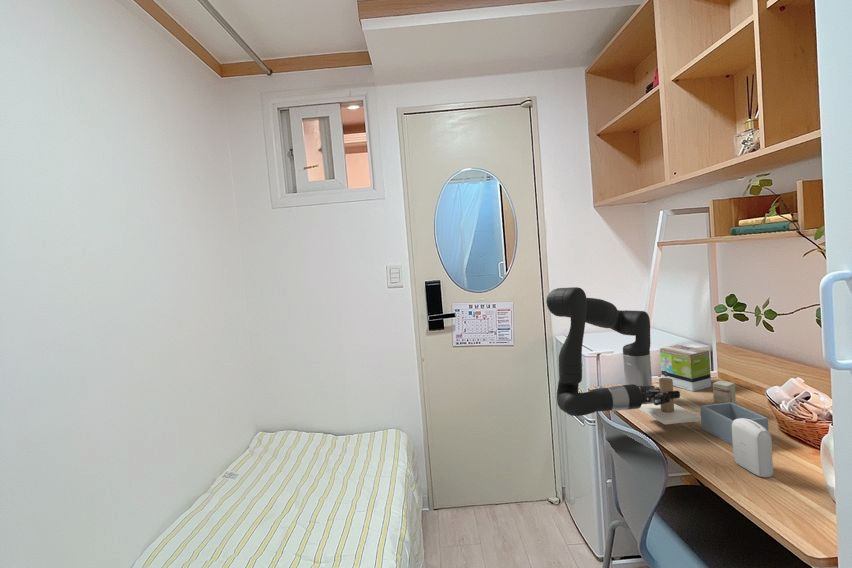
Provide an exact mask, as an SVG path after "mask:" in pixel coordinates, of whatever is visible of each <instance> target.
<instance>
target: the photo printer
mask: <svg viewBox="0 0 852 568" xmlns="http://www.w3.org/2000/svg"><path fill="white" fill-rule="evenodd" d="M732 441H733V446H732V452H733V455H732V456H733V461H734V463H736V464H737V465H738V466H740V467H742V468H744V469H745V470H747V471H748V472H750V473H752V474H754V475H755V476H758V477H760V478H770V477H772V476H773V475H774V463H773V461H774V460H773V448H772V444H773V443H772V435H771V433H770V432H768V431H767V430H766V429H765V428H764V427H763V426H761V425H760V424H758V423H756V422H754V421H752V420H749V419H745V418H739V419H735V420H734V421H733V423H732Z"/></svg>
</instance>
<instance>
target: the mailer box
mask: <svg viewBox="0 0 852 568" xmlns="http://www.w3.org/2000/svg"><path fill="white" fill-rule="evenodd" d="M699 409H700V422H701V423H700V424H701V429H703V430H704V431H705V432H708V433H710V434H711V435H713V436H715V437H717V438H718V439H720V440H722V441H723V442H725V443H728V444H729V445H731V446H732V447H733V441H732V423H733V421H734V420H735V419H739V418H745V419H749V420H752V421H754V422H756V423H758V424H760V425H761V426H763V427H764V428H765V429H766V430H767V431H768V432H769V418H768V417H766V416H764V415H761V414H759V413H757V412H755V411H753V410H751V409H748V408H745V407H743V406H741V405H740V404H739V405H738V404H734V403H732V402H729V403H721V404H714V403H713V404H704V405H700V407H699ZM769 433H770V432H769Z"/></svg>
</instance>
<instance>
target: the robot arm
mask: <svg viewBox="0 0 852 568" xmlns="http://www.w3.org/2000/svg"><path fill="white" fill-rule="evenodd" d="M545 301H546V306H547V309H548V310H549V312H550V313H551V314H552V315H554V316H555V317H559V318H560V317H561V318H562V317H565V318H570V325H569V332H568V334H567V336H566V339H565V340H564V342H563V345H562V346H561V348H560V350H559V354H558V377H559V378H558V383H557V390H556V402H557V406H558V407H559V409H560V410H561V411H563V412H564V413H566V414H567V415H569V416H571V417H580V416H581V417H582V416H587V415H591V414H594V413H597V412H607V411H608V412H609V411H610V412H611V411H627V410H637V409H639V408H640V407H641V405H642V404H644V403H645V404H652V403H654V405H660V404H664V403H668V402H670V399H680V398H681V393H680V392H681V391H680V390H673V391H668V392H660V386H659V387H658V386H655V385H653V381H652V378H653V375H652V362H651V318H650V316H649V314H648V312H646V311H644V310H626V309H625V310H621V309H620V310H619V309H618V308H617V307H616V305H615V304H613V303H612V302H610V301H607V300H604V299H601V298H594V297H587V295H586V293H585V291H584V289H583V288H581V287H578V286H576V287H575V286H574V287H558V288H555V289H552V290H551V291H550V292H548V294H547V297H546V300H545ZM586 324H588V325H592V326H595V327H599V328H603V329H611V330H613V331H615V332H617V333H618V334H620V335H623V336H635V341H634V342H631V343H627V344H625V345H623V346H622V358H623V372H624V375H623V376H624V384H623V385H615V386H614V385H613V386H608V387H601V388H593V389H590V390H589V391H586V392H579V384H580V383H581V382H582V381H583V362H582V361H583V357H582V355H583V341H584V334H585V327H586ZM661 394H662V395H661Z"/></svg>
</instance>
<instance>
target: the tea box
mask: <svg viewBox="0 0 852 568" xmlns="http://www.w3.org/2000/svg"><path fill="white" fill-rule="evenodd" d="M659 353H660V368H661V369H660V370H661V378H670V379H672V380H673V387H677V388H680V389H683V390H687V391H689V392H696V391H701V390H703V389H704V390H705V389H708V388H711V387H712V379H711V376H712V375H711V361H710V357H711V356H710V350H708V349H702V348H697V347H692V346H687V345H683V344H675V345H670V346H666V347H661V348H659Z"/></svg>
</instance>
